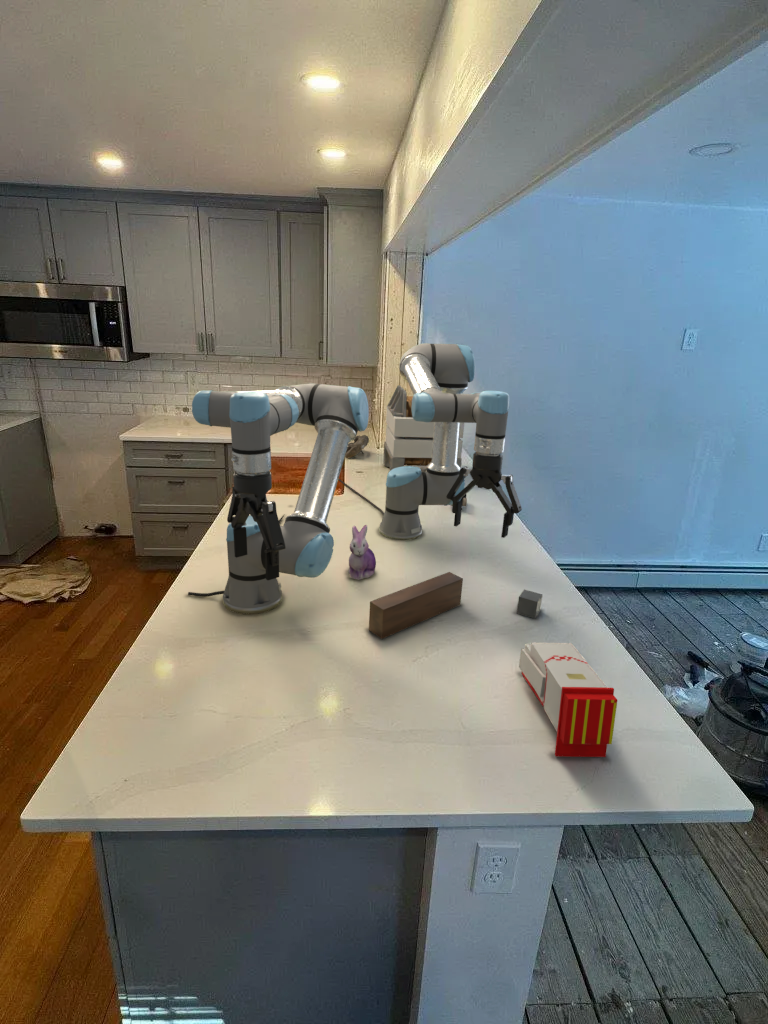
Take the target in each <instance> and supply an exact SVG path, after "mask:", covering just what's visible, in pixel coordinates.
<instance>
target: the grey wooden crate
mask: <svg viewBox="0 0 768 1024" xmlns="http://www.w3.org/2000/svg"><path fill="white" fill-rule="evenodd" d="M407 394H408V393H407V390H406V389H404V388H403V387H402V385H399V384H398V385H397V386H396V388H395V390H394V392H393V394H392V395H391V398H390V400H389V402H388V404H387V405H386V413H385V414H386V415H385V423H386V428H385V438H384V442H383V466H384V467H388V468H389V471H391V470H392V469H394V468H397V467H403V466H412V467H413V466H415V467H427V465H428V464H430V463H431V461H432V448H433V433H434V422H427V423H426V422H421V421H415V420H414V419H413V417H412V398H413V396H414V395H412V396H411V395H407ZM464 429H465V423H460V427H459V439H458V451H457V465H458V466H459V467H460V469H461V468H462V461H463V460H462V453H463V442H464V441H463V440H462V439H463V438H464V431H465V430H464Z"/></svg>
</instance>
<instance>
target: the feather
mask: <svg viewBox="0 0 768 1024" xmlns="http://www.w3.org/2000/svg"><path fill="white" fill-rule="evenodd" d="M285 515H286V514H283V515H282V516H281V518H279V519H278V520H279V523H280V524H281V522H282V520H283V519H284V516H285Z"/></svg>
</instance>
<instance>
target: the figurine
mask: <svg viewBox="0 0 768 1024" xmlns="http://www.w3.org/2000/svg"><path fill="white" fill-rule="evenodd" d="M351 528H352V529H351V534H352V539H351V541H350V543H349V551H350V552H351V553H350V555H349V558H348V567H349V568H348V571H347V572H348V574H349V576H348V577H349V578H350V579H354V580H363V579H368V578H370V577H372V576H373V575H374V574H375V571H376V566H377V560H376V555H375V553H374V552H373V550H372V549H371V548H369V547H370V545H369V542H368V541H367V539H366V536H367V533H368V525H367V524H365V525H363V527H362V528H361V529H360V531H359V529H358V528H357V526H356V525H353V526H352V527H351Z"/></svg>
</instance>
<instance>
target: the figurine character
mask: <svg viewBox="0 0 768 1024" xmlns="http://www.w3.org/2000/svg"><path fill="white" fill-rule="evenodd" d="M460 501H462V507H464V508H465V507H467V503H468V498H467V493H466V494H465V495H464V496H463V497H462V498H461V500H460ZM450 507H452V505H450Z"/></svg>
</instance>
